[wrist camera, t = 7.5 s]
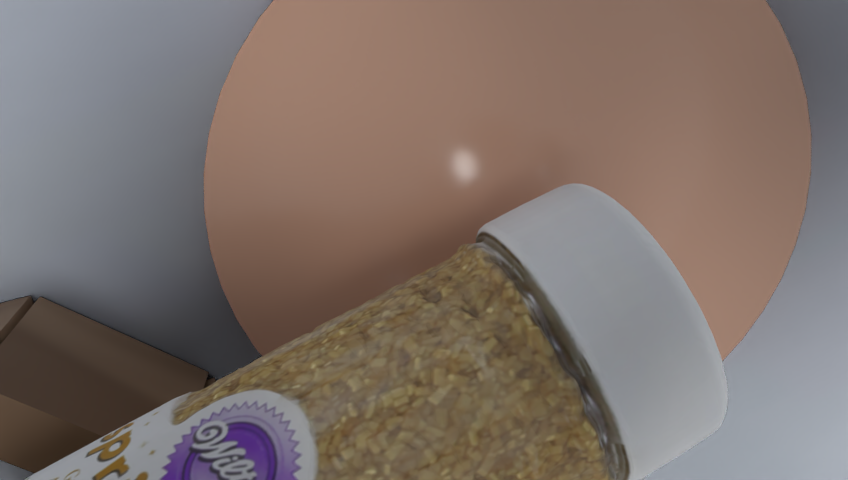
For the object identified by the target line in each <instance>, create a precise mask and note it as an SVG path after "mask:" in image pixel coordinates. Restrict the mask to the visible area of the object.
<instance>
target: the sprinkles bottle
mask: <svg viewBox="0 0 848 480" xmlns="http://www.w3.org/2000/svg"><path fill="white" fill-rule="evenodd" d="M727 406H728V386H727V379H726V375H725V371H724V367H723V363H722V359H721V355H720V353H719V350H718V347H717V345H716V342H715V339H714V337H713V334H712V332H711V330H710V328H709V325H708V323H707V321H706V319H705V317H704V314H703V312H702V310H701V308H700V307H699V305H698V303H697V301H696V299H695V298H694V296H693V294H692V292H691V291H690V289H689V287H688V286H687V284H686V282H685V280H684V279H683V277H682V276H681V274H680V273H679V271H678V270H677V268H676V267H675V265H674V264H673V262H672V261H671V259H670V258H669V257H668V255H667V254H666V253H665V251H664V250H663V249H662V247H661V246H660V245H659V244H658V242H657V241H656V240H655V239H654V237H653V236H652V235H651V234H650V233H649V232H648V231H647V229H646V228H645V227H644V226H643V225H642V224H641V223H640V222H639V221H638V220H637V219H636V218H635V217H634V216H633V215H632V214H631V213H630V212H629V211H628V210H627V209H625V208H624V207H623V206H622V205H621V204H619V203H618V202H617V201H616V200H614V199H613V198H611V197H610V196H608V195H607V194H605V193H603V192H601V191H600V190H598V189H596V188H594V187H591V186H588V185H584V184H577V183H572V184H566V185H563V186H560V187H558V188H555V189H553V190H551V191H549V192H547V193H545V194H543V195H541V196H539V197H537V198H535V199H533V200H531V201H529V202H527V203H525V204H522V205H521V206H519V207H517V208H515V209H513V210H511V211H509V212H507V213H505V214H503V215H501V216H500V217H498V218H496V219H494V220H492V221H490V222H488V223H486V224H484V225H483V226H482V227H481V228H480V229H479V231H478V233H477V236H476V243H474V244H469V243H468V244H463V245H461V246H460V247H459V248H458V250H457V252H456V253H455V254H454V255H453V256H452V257H451V258H449V259H448V260H446V261H444V262H442V263H440V264H438V265H437V266H434V267H432V268H429V269H428V270H426V271H425V272H423V273H421V274H418V275H416V276H413V277H411V278H410V279H408V280H407V281H405V282H404V283H403V284H400V285H396V286H394V287H392V288H390V289H388V290H387V291H385V292H384V293H382V294H381V295H379V296H377V297H375V298H373V299H371V300H368V301H367V302H365V303H364V304H362V305H361V306H359V307H356V308H354V309H351V310H349V311H347V312H345V313H344V314H342V315H340V316H338V317H336V318H334V319H332V320H329V321H327V322H325V323H323V324H322V325H320V326H318V327H316V328H315V329H314V330H313V332H311V333H306V334H304V335H302V336H300V337H298V338H296V339H294V340H292V341H291V342H288V343H286V344H284V345H282V346H280V347H278V348H277V349H275V350H273V351H271V352H270V353H268V354H266V355H264V356H262V357H260V358H258V359H256V360H254V361H253V362H252V363H250V364H248V365H246V366H245V367H243V368H239V369H237V370H236V371H234V372H233V373H231V374H229V375H227V376H225V377H223V378H221V379H219V380H217V381H216V382H214V383H213V384H212V385H210V386H208V387H206V388H204V389H202V390H200V391H195V392H189V393H187V394H184V395H182V396H179V397H177V398H174V399H172V400H171V401H169V402H167V403H165V404H163V405H161V406H160V407H158V408H156V409H154V410H152V411H150V412H148V413H146V414H145V415H143V416H141V417H139V418H137V419H135V420H133V421H131V422H129V423H128V424H126V425H124V426H122V427H120V428H118V429H116V430H114V431H113V432H111V433H109V434H107V435H105V436H103V437H101V438H99V439H98V440H96V441H94V442H92V443H90V444H88V445H87V446H85V447H83V448H81V449H79V450H77V451H75V452H74V453H72V454H70V455H68V456H66V457H64V458H62V459H61V460H59V461H57V462H55V463H53V464H51V465H49V466H48V467H46V468H44V469H42V470H40V471H38V472H37V473H35V474H33V475H31V476H29V477H27V478H25V479H24V480H641V479H643V478H645V477H646V476H648V475H649V474H651V473H653V472H654V471H656V470H657V469H659V468H661V467H662V466H664V465H666V464H667V463H669V462H671V461H672V460H674V459H675V458H677V457H679V456H680V455H682V454H683V453H685V452H686V451H688V450H690V449H691V448H693V447H694V446H696V445H697V444H699V443H700V442H702V441H703V440H705V439H706V438H708V437H709V436H711V435H712V434H713V433H714V432H715V431H716V430H717V429H718V428H720V427H721V425H722V422H723V420H724V418H725V415H726V411H727Z"/></svg>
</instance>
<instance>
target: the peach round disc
mask: <svg viewBox="0 0 848 480" xmlns="http://www.w3.org/2000/svg"><path fill="white" fill-rule="evenodd" d="M810 176H811V128H810V120H809V112H808V104H807V97H806V93H805V89H804V86H803V82H802V78H801V75H800V71H799V67H798V64H797V60H796V58H795V56H794V53H793V51H792V49H791V46H790V44H789V42H788V40H787V37H786V35H785V33H784V30H783V28H782V26H781V24H780V22H779V21H778V19H777V18H776V16H775V14H774V13H773V11H772V10H771V8H770V6H769V5H768V3H767V2H766V0H273V1H272V3H271V4H270V5H269V6H268V8H267V9H266V10H265V11H264V12H263V14H262V15H261V16H260V17H259V19H258V21H257V22H256V24H255V25H254V27H253V29H252V30H251V32H250V34H249V35H248V37H247V39H246V40H245V42H244V44H243V45H242V47H241V48H240V50H239V52H238V53H237V55H236V57H235V60H234V62H233V64H232V67H231V69H230V71H229V74H228V76H227V78H226V80H225V83H224V85H223V87H222V90H221V92H220V95H219V98H218V102H217V106H216V109H215V113H214V117H213V120H212V124H211V127H210V131H209V136H208V144H207V152H206V159H205V167H204V214H205V221H206V227H207V233H208V240H209V246H210V251H211V255H212V258H213V261H214V264H215V268H216V271H217V274H218V277H219V281H220V284H221V287H222V289H223V291H224V293H225V295H226V298H227V300H228V302H229V304H230V306H231V308H232V310H233V313H234V315H235V317H236V319H237V321H238V322H239V324H240V325H241V327H242V328H243V330H244V331H245V333H246V334H247V336H248V338H249V339H250V341H251V342H252V344H253V345H254V347H255V348H256V350H257V351H258V352H259V353H260V354H261V356H264V355H266V354H268V353H270V352H271V351H273V350H275V349H277V348H278V347H280V346H282V345H284V344H286V343H288V342H291V341H292V340H294V339H296V338H298V337H300V336H302V335H304V334H306V333H311V332H313V330H314V329H315V328H316V327H318V326H320V325H322V324H323V323H325V322H327V321H329V320H332V319H334V318H336V317H338V316H340V315H342V314H344V313H345V312H347V311H349V310H351V309H354V308H356V307H359V306H361V305H362V304H364V303H365V302H367V301H368V300H371V299H373V298H375V297H377V296H379V295H381V294H382V293H384V292H385V291H387V290H388V289H390V288H392V287H394V286H396V285H400V284H403V283H404V282H405V281H407V280H408V279H410V278H411V277H413V276H416V275H418V274H421V273H423V272H425V271H426V270H428V269H429V268H432V267H434V266H437V265H438V264H440V263H442V262H444V261H446V260H448V259H449V258H451V257H452V256H453V255H454V254H455V253H456V252H457V250H458V248H459V247H460V246H461V245H463V244H468V243H469V244H474V243H476V236H477V233H478V231H479V229H480V228H481V227H482V226H483V225H484V224H486V223H488V222H490V221H492V220H494V219H496V218H498V217H500V216H501V215H503V214H505V213H507V212H509V211H511V210H513V209H515V208H517V207H519V206H521V205H522V204H525V203H527V202H529V201H531V200H533V199H535V198H537V197H539V196H541V195H543V194H545V193H547V192H549V191H551V190H553V189H555V188H558V187H560V186H563V185H566V184H572V183H577V184H584V185H588V186H591V187H594V188H596V189H598V190H600V191H601V192H603V193H605V194H607V195H608V196H610V197H611V198H613V199H614V200H616V201H617V202H618V203H619V204H621V205H622V206H623V207H624V208H625V209H627V210H628V211H629V212H630V213H631V214H632V215H633V216H634V217H635V218H636V219H637V220H638V221H639V222H640V223H641V224H642V225H643V226H644V227H645V228H646V229H647V231H648V232H649V233H650V234H651V235H652V236H653V237H654V239H655V240H656V241H657V242H658V244H659V245H660V246H661V247H662V249H663V250H664V251H665V253H666V254H667V255H668V257H669V258H670V259H671V261H672V262H673V264H674V265H675V267H676V268H677V270H678V271H679V273H680V274H681V276H682V277H683V279H684V280H685V282H686V284H687V286H688V287H689V289H690V291H691V292H692V294H693V296H694V298H695V299H696V301H697V303H698V305H699V307H700V308H701V310H702V312H703V314H704V317H705V319H706V321H707V323H708V325H709V328H710V330H711V332H712V334H713V337H714V339H715V342H716V345H717V347H718V350H719V353H720V355H721V359H722V361H723V360H724V359H725V358H726V357H727V356H728V354H729V353H730V352H731V351H732V350H733V349H734V348H735V347H736V346H737V345H738V344H739V342H740V341H741V340H742V339H743V338H744V336H745V335H746V334H747V332H748V331H749V329H750V328H751V327H752V325H753V324H754V323H755V321H756V320H757V319H758V317H759V316H760V314H761V313H762V312H763V310H764V308H765V307H766V305H767V303H768V301H769V300H770V298H771V296H772V294H773V293H774V291H775V289H776V287H777V286H778V284H779V282H780V280H781V278H782V276H783V274H784V271H785V269H786V266H787V264H788V262H789V259H790V257H791V255H792V252H793V250H794V247H795V245H796V241H797V238H798V234H799V231H800V227H801V224H802V220H803V217H804V213H805V209H806V203H807V196H808V189H809V182H810Z"/></svg>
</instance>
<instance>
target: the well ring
mask: <svg viewBox="0 0 848 480" xmlns="http://www.w3.org/2000/svg"><path fill="white" fill-rule="evenodd" d="M208 373H209V372H207V371H205V370H203V369H200V368H198V367H196V366H194V365H191V364H189V363H187V362H185V361H183V360H180V359H178V358H176V357H174V356H171V355H169V354H167V353H165V352H162V351H160V350H158V349H156V348H154V347H151V346H149V345H147V344H145V343H142V342H140V341H138V340H136V339H134V338H131V337H129V336H127V335H125V334H122V333H120V332H118V331H116V330H113V329H111V328H109V327H107V326H105V325H102V324H100V323H98V322H96V321H93V320H91V319H89V318H87V317H84V316H82V315H80V314H78V313H76V312H73V311H71V310H69V309H67V308H64V307H62V306H60V305H58V304H55V303H53V302H51V301H49V300H47V299H44V298H42V297H39V298H38V299H37V301H36V302H35V303H34V302H33V300H32V298H31V296H27V297H23V298H19V299H15V300H11V301H7V302H3V303H0V460H2V461H4V462H7V463H9V464H12V465H15V466H17V467H20V468H22V469H25V470H27V471H30V472H33V473H37V472H38V471H40V470H42V469H44V468H46V467H48V466H49V465H51V464H53V463H55V462H57V461H59V460H61V459H62V458H64V457H66V456H68V455H70V454H72V453H74V452H75V451H77V450H79V449H81V448H83V447H85V446H87V445H88V444H90V443H92V442H94V441H96V440H98V439H99V438H101V437H103V436H105V435H107V434H109V433H111V432H113V431H114V430H116V429H118V428H120V427H122V426H124V425H126V424H128V423H129V422H131V421H133V420H135V419H137V418H139V417H141V416H143V415H145V414H146V413H148V412H150V411H152V410H154V409H156V408H158V407H160V406H161V405H163V404H165V403H167V402H169V401H171V400H172V399H174V398H177V397H179V396H182V395H184V394H187V393H189V392H195V391H200V390H202V389H204V388H206V387H208V386H210V385H212V384H213V383H214V382H216V380H215V378H212V379H208V380H206V379H207V376H208Z"/></svg>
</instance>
